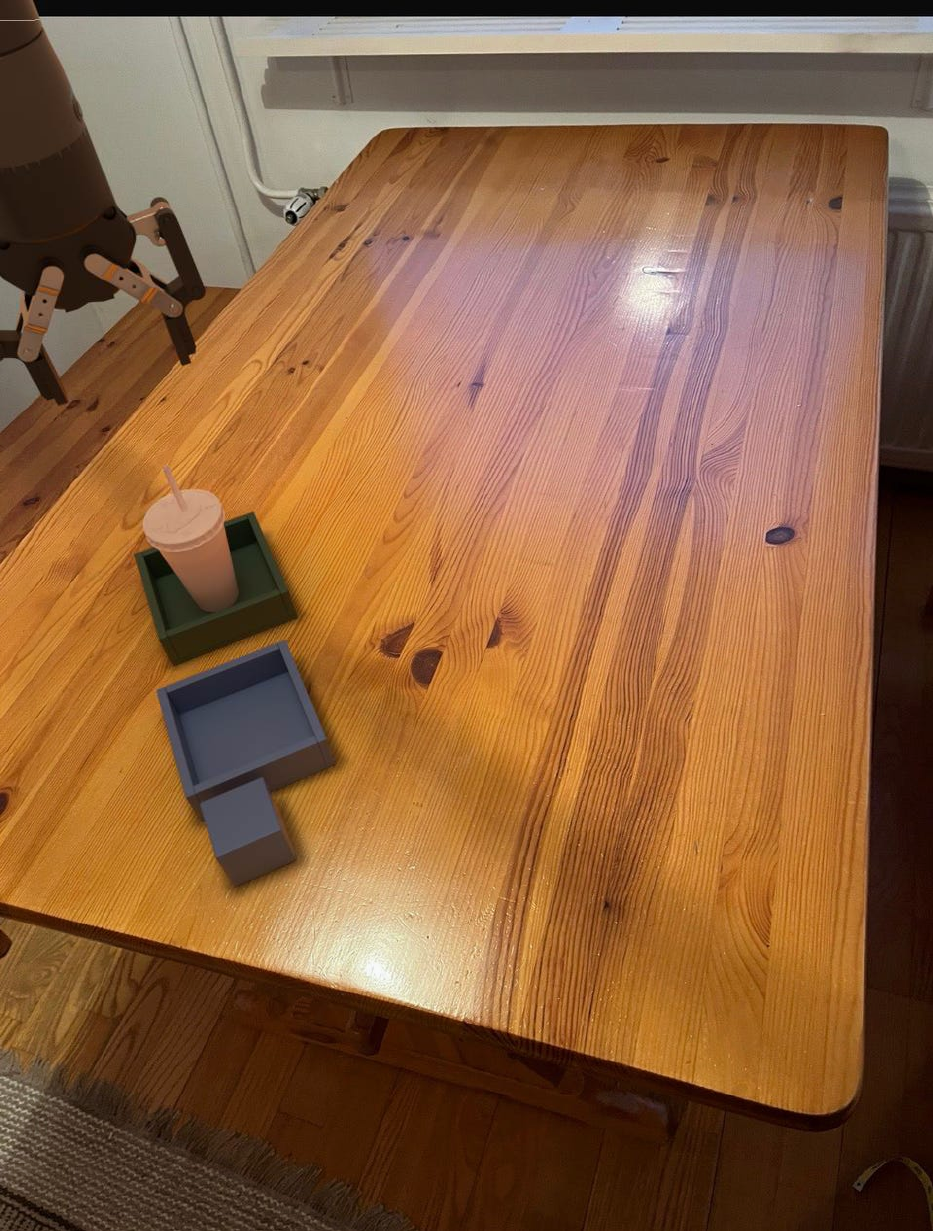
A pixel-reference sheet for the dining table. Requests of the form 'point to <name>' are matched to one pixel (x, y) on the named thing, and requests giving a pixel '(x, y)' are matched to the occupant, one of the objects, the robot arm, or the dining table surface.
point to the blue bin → (243, 726)
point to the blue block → (247, 832)
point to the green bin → (251, 613)
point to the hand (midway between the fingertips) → (123, 379)
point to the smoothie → (194, 543)
